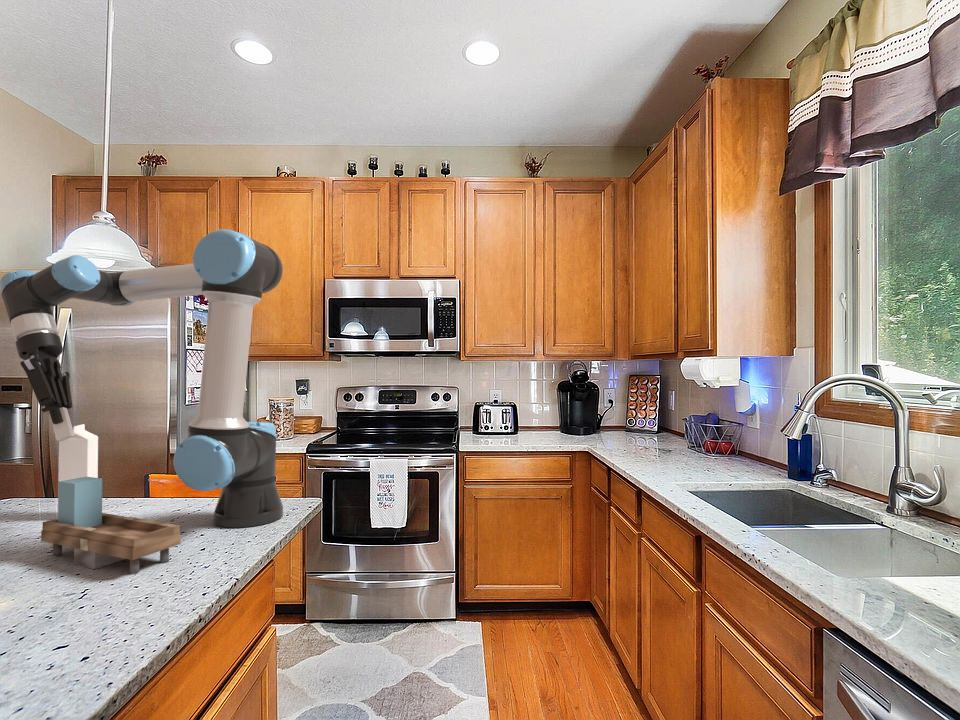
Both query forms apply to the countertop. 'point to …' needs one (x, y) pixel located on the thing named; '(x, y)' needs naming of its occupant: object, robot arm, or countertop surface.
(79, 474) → the milk
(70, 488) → the block
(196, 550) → the countertop surface
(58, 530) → the long brown tray
